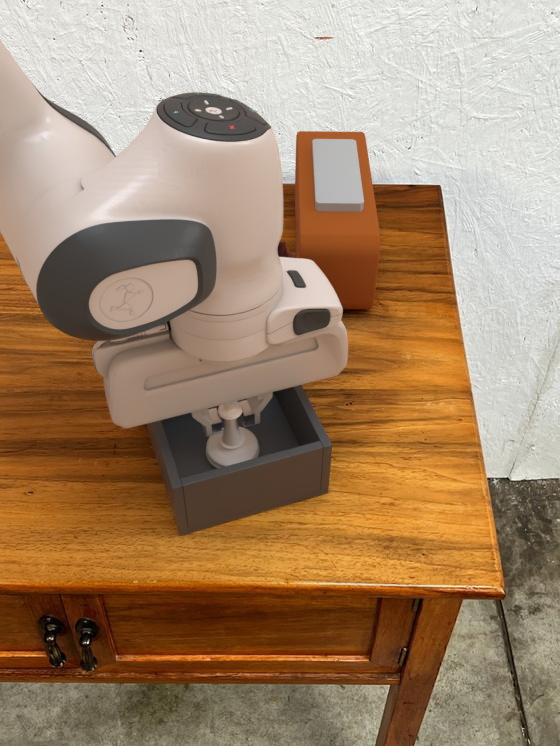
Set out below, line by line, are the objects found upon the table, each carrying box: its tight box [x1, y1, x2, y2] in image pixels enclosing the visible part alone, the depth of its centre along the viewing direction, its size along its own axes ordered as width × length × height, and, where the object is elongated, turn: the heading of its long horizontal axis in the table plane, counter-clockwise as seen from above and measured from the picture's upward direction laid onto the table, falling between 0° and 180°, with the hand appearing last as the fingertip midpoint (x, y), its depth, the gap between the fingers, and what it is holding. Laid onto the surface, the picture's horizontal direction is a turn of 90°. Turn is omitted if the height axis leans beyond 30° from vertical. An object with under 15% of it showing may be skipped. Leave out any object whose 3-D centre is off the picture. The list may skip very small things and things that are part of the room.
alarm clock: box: [294, 130, 381, 310], centre depth 90 cm, size 24×8×11 cm, turn 0°
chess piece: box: [206, 401, 259, 468], centre depth 68 cm, size 5×5×10 cm
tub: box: [145, 385, 333, 537], centre depth 70 cm, size 14×14×7 cm
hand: (231, 424), depth 69 cm, fingers closed on chess piece
